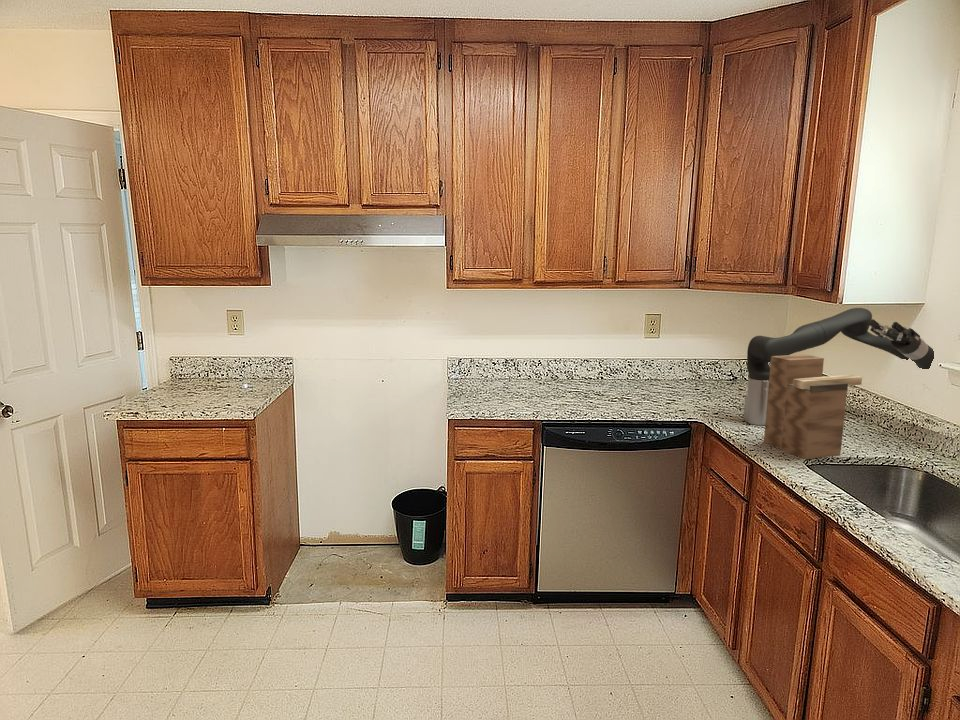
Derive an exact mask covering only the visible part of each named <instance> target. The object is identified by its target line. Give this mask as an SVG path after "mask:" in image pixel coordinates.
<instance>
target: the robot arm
mask: <svg viewBox="0 0 960 720" xmlns="http://www.w3.org/2000/svg"><path fill="white" fill-rule="evenodd" d="M869 329H870V330H869ZM868 330H869V331H871V332H872V333H871V332H869V331H868ZM840 332H841V333H842V335H844V336H845V337H847V338H848V339H852V340H854V341H857V342H860V343H862V344H865V345H867V346H870V347H874V348H876V349H879V350H881V351H885V352H887V353H889V354H891V355H893V356H895V357H896V358H899V359H901V360H902V359H906V360H908V359H909V358H910V359H911V360H912V361H914V362H915V363H916V364H915V365H916V367H917V366H918V367H919V368H922V369H929V368H930V366H931V363H932V361H933V359H934V351H933V349H934V348H933V347H931V346H930V345H929V344H927V343H926V341H924V339H923V338H921V335H920V334H919V333H918V332H917V331H915V330H914V329H913V328H911V327H909V328H907V327H906V326H903V325H902V324H900V323H899V322H898V321H893V322H892V324H891V326H889V325H884V324H881V323H879V322H878V321H876V320H875V319H874V318H873V314H872V311H870V310H869V309H867V308H865V307H864V308H863V307H852V308H849V309H846V310H844V311H841V312H839V313H837V314H835V315H832V316H830V317H827V318H824V319H821V320H817V321H814V322H809V323H806V324H803V325H801V326H799V327H797V328H796V329H795V330H793V332H792V333H791V334H789V335H788V334H787V335H784V336H779V337H772V336H771V337H770V336H765V335H755V336H754V337H752V338H751V339H750V340H749V343H748V346H747V350H746V351H747V352H746V353H747V354H746V358H747V359H746V361H747V362H746V369H747V373H748V381H747V391H746V392H747V393H746V395H745V396H744V404H743V405H744V406H743V417H742V419H743V421H745V423H747V422H748V424H750V425H756V426H765V423H766V411H767V400H768V388H769V377H770V364H769V363H771V356H784V355H794V354H796V353H799V352H803V351H806V350H810V349H814V348H816V347H819V346H823V345H825V344H827V343H828V342H830V341H831V340H832V339H834V338H835V337H836V336H838V334H839V333H840ZM873 333H874V334H873ZM918 367H917V368H918Z"/></svg>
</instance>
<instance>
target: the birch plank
mask: <svg viewBox="0 0 960 720" xmlns="http://www.w3.org/2000/svg"><path fill="white" fill-rule="evenodd" d="M862 381H863V377H862V376H858V375H855V374H846V375H845V374H843V375H831V376H822V377H814V378H800V379H793V386H792V387H796V388H799V389H810V386H813V385H826V384H839V383H847V384H848V387H849V386H859V385H862Z"/></svg>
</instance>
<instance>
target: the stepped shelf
mask: <svg viewBox="0 0 960 720" xmlns="http://www.w3.org/2000/svg"><path fill="white" fill-rule="evenodd" d="M824 363H825V358H824V357H820V356H814V355H810V354H807V353H806V354H790V355H784V356H771V362H770V364H769V366H770V377H769V388H768V400H767V411H766V423H765V425H764V437H763V443H764V444H766V445H769V446H771V447H774V448H776V449H778V450H780V451H781V450H782V451H784V452H787V453H789V454H791V455H794V456H796V457H799V458H801V459H805V460H810V459H818V458H827V457H835V456H841V451H842V450H841V449H842V443H843V433H844V432H843V431H844V424H845V415H846V406H847V405H846V404H847V397H848V387H849V386H848V384H847V383H839V384H826V385H813V386H810V389H799V388H796V387H792V386H793V379H800V378H814V377H823V372H824Z"/></svg>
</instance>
